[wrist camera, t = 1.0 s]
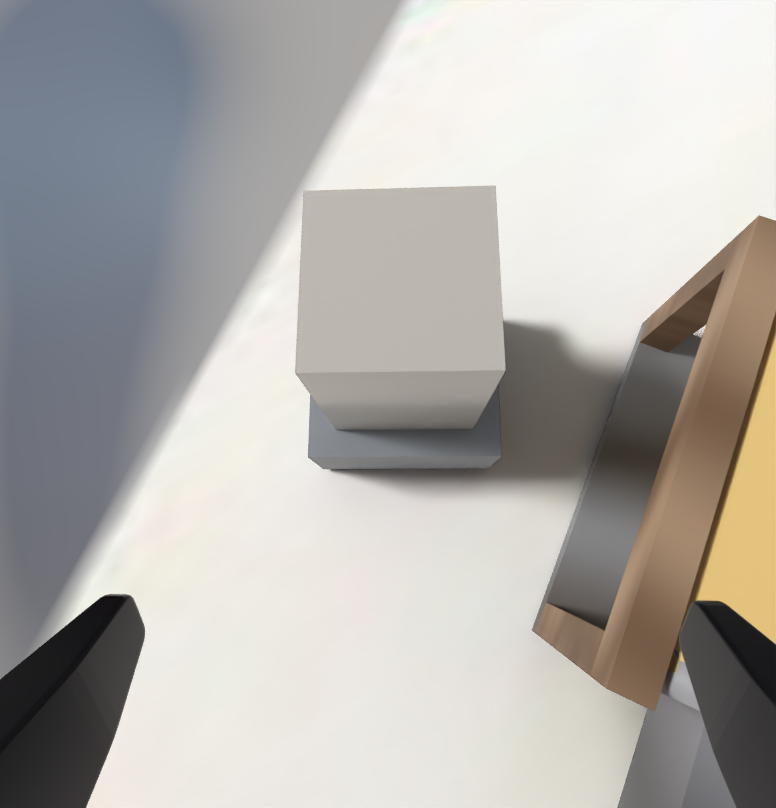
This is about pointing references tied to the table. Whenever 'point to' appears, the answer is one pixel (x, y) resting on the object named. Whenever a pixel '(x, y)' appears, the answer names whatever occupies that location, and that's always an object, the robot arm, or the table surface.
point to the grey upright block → (400, 306)
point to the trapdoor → (731, 584)
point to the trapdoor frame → (661, 473)
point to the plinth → (406, 444)
